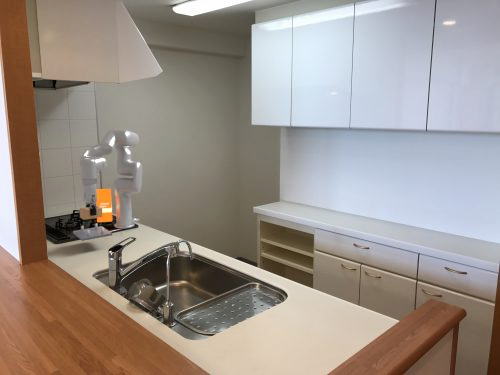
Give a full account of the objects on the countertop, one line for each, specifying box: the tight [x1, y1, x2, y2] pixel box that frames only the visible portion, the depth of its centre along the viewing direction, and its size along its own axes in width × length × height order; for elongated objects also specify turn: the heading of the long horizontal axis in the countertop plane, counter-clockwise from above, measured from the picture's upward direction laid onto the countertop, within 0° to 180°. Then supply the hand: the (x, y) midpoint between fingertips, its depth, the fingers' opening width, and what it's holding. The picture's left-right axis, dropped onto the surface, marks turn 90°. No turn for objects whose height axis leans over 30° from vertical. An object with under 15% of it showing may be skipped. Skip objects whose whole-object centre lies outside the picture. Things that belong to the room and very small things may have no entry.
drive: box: [79, 206, 103, 221], centre depth 223 cm, size 10×6×5 cm, turn 129°
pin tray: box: [72, 222, 113, 242], centre depth 226 cm, size 16×16×4 cm
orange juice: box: [96, 188, 113, 223], centre depth 256 cm, size 8×9×20 cm
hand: (91, 213), depth 224 cm, fingers closed on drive, 6 cm apart
